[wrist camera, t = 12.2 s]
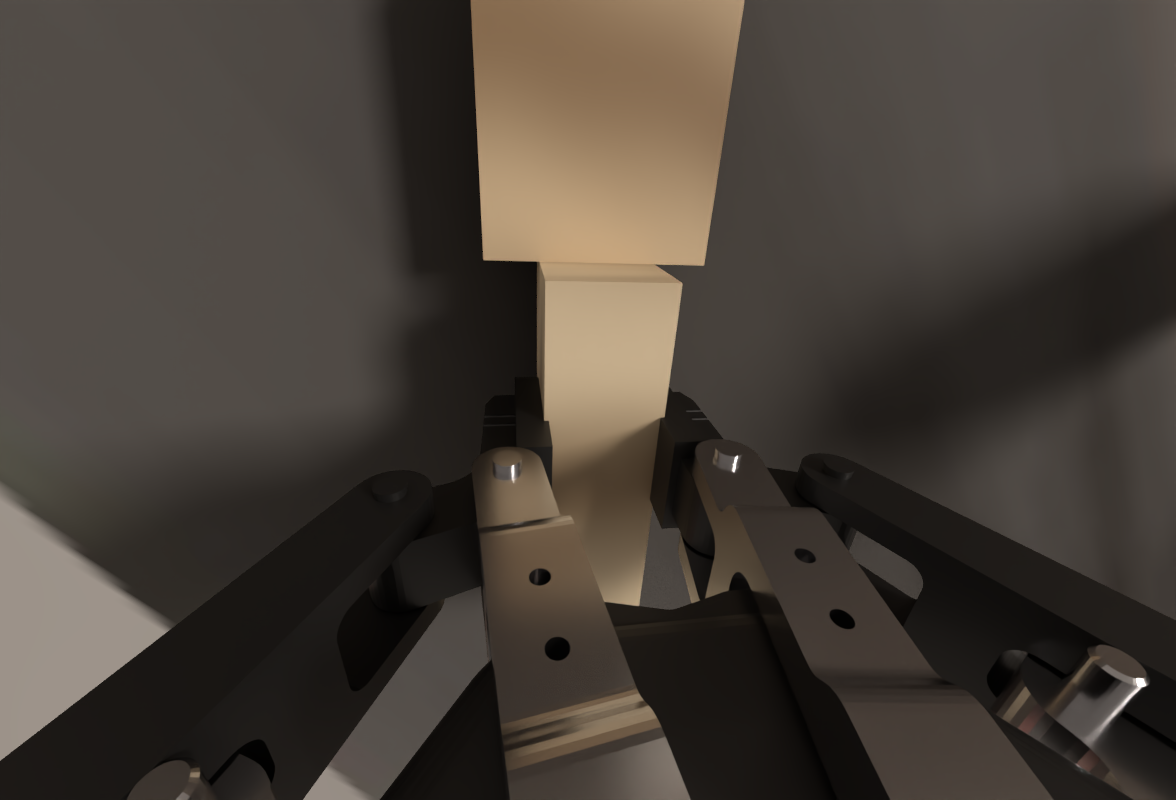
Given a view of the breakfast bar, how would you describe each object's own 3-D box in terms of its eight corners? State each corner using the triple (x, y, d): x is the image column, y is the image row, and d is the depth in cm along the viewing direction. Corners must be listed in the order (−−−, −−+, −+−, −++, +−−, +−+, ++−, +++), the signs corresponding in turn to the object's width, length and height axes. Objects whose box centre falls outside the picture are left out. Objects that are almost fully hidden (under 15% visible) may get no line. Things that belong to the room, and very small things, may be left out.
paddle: (647, 557, 16) (675, 634, 13) (500, 568, 15) (497, 653, 13) (733, -61, 9) (825, -156, 6) (469, -97, 8) (449, -223, 6)
